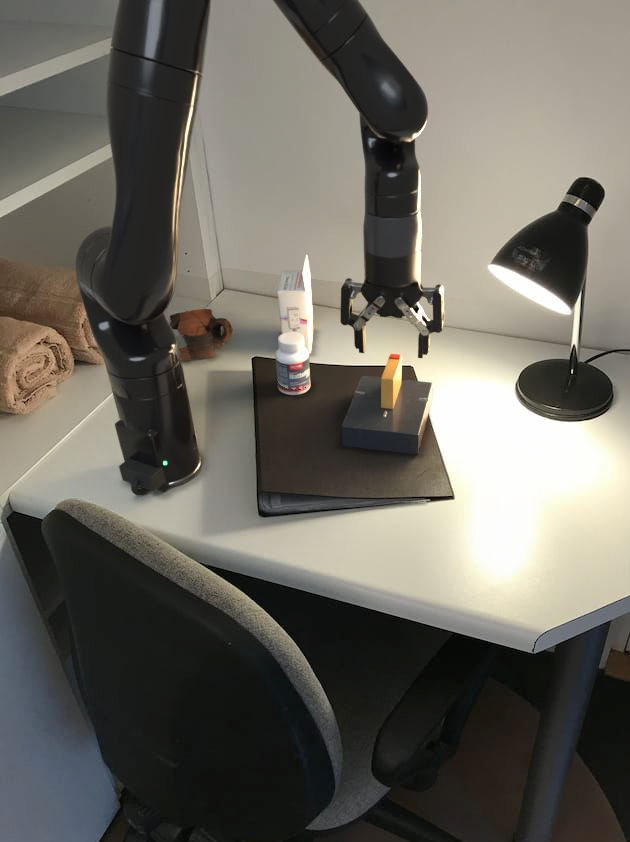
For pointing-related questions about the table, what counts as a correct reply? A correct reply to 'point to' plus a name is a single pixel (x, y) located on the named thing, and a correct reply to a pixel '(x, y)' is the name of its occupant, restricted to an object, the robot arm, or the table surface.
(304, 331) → the ink cartridge box
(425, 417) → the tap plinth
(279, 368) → the pill bottle
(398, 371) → the tap lever
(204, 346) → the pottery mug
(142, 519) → the table surface
